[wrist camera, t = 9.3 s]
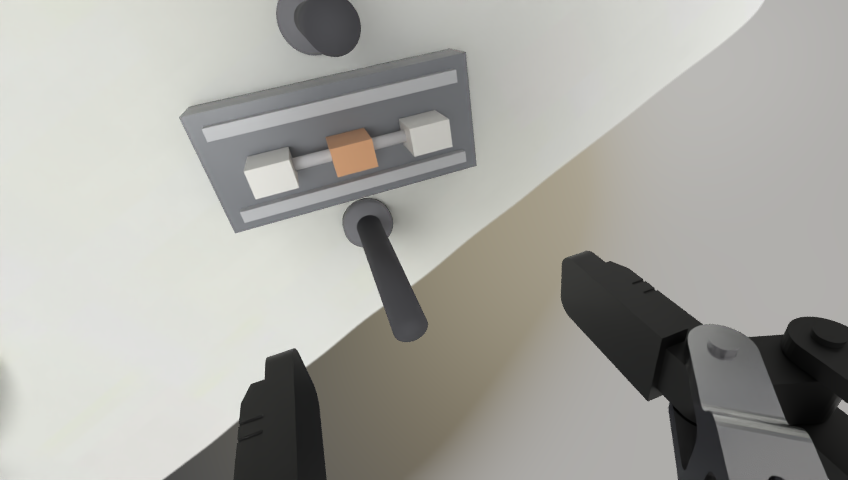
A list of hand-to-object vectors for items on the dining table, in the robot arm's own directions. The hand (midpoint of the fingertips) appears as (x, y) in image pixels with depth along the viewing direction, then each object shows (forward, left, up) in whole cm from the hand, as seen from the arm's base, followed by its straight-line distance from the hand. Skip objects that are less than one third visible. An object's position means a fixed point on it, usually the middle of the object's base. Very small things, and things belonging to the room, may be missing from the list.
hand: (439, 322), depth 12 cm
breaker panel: (0, 0, -22) cm, 22 cm away
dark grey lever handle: (+7, +3, -22) cm, 23 cm away
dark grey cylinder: (-7, -3, -22) cm, 23 cm away
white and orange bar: (0, 0, -18) cm, 18 cm away
